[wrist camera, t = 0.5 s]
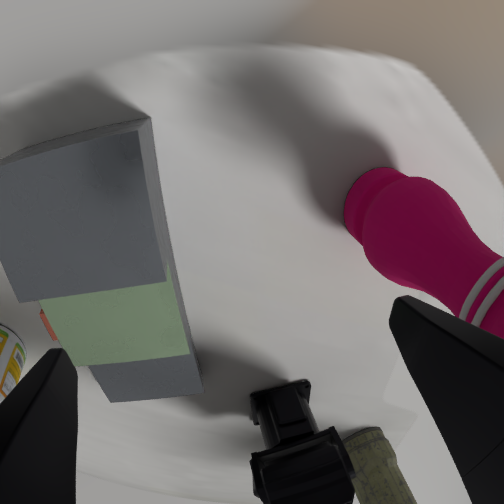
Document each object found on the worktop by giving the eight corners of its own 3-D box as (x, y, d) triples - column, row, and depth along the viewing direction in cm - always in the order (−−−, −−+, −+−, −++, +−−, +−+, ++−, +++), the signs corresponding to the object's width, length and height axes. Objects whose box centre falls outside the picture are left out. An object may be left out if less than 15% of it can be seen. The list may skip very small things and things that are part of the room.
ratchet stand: (202, 376, 28) (210, 429, 23) (106, 386, 27) (101, 438, 22) (151, 117, 17) (137, 130, 12) (14, 151, 16) (-35, 179, 11)
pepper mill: (401, 245, 26) (563, 417, 9) (329, 248, 24) (497, 481, 7) (421, 165, 22) (636, 312, 5) (345, 155, 21) (614, 356, 4)
